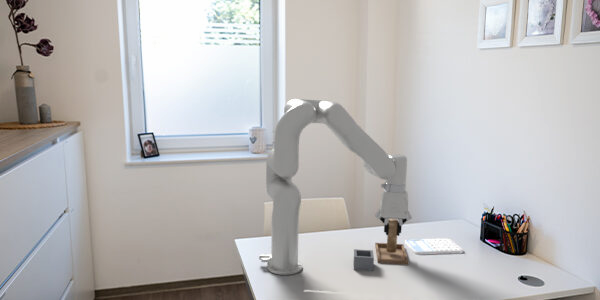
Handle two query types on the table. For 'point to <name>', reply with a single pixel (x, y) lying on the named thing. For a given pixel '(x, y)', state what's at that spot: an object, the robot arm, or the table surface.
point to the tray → (391, 254)
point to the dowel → (392, 236)
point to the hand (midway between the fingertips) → (392, 233)
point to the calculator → (433, 246)
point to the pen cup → (363, 260)
